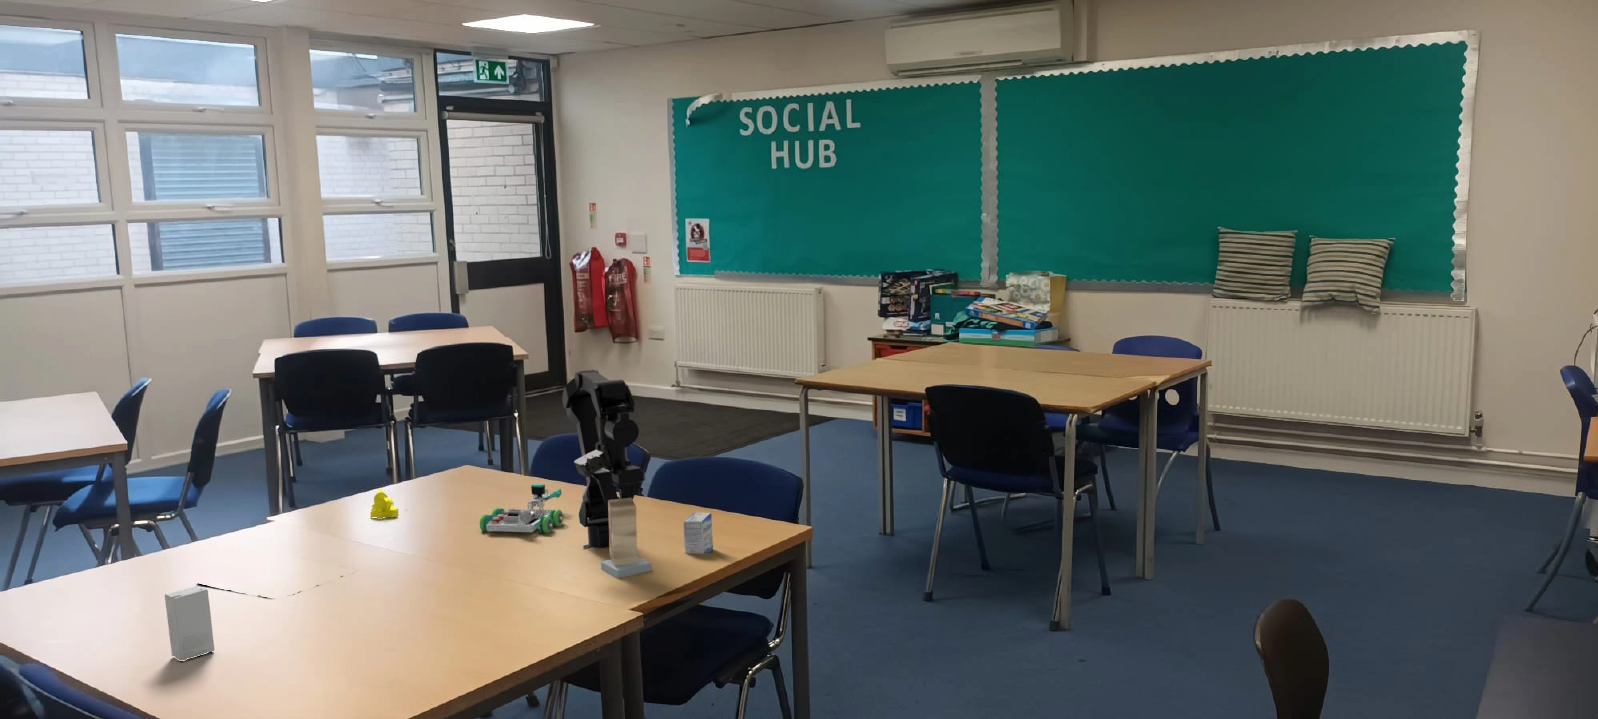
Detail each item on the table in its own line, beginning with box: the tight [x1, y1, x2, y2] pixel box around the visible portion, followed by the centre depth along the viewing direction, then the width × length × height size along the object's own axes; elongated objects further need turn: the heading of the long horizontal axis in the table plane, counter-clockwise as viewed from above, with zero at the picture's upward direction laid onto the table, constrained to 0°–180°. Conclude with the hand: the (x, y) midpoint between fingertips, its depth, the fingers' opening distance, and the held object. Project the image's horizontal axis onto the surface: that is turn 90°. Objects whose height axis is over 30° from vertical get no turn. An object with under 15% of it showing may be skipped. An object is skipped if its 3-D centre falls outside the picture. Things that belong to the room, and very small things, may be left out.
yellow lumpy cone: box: [370, 487, 399, 518], centre depth 300 cm, size 6×8×8 cm
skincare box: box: [164, 585, 215, 660], centre depth 206 cm, size 6×4×12 cm
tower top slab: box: [600, 555, 652, 579], centre depth 245 cm, size 8×8×2 cm
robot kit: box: [479, 483, 564, 534], centre depth 289 cm, size 19×25×9 cm
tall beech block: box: [608, 498, 638, 566], centre depth 244 cm, size 5×5×13 cm
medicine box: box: [683, 512, 714, 555], centre depth 259 cm, size 8×4×9 cm, turn 168°
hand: (616, 507), depth 251 cm, fingers open, 9 cm apart
